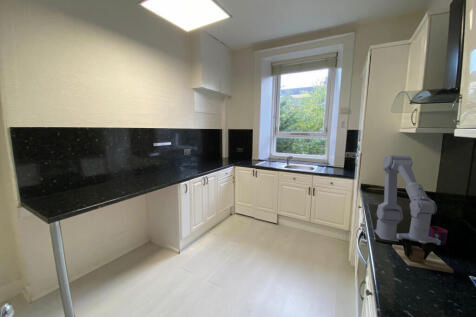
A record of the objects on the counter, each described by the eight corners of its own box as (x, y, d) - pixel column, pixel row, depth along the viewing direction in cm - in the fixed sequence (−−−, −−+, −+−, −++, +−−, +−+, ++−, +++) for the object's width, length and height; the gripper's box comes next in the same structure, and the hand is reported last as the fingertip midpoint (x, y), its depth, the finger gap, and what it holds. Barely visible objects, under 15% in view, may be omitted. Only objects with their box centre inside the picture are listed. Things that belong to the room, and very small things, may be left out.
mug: (426, 240, 101) (428, 228, 100) (428, 234, 107) (430, 222, 106) (445, 246, 96) (447, 233, 95) (446, 239, 102) (448, 227, 101)
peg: (406, 257, 87) (407, 245, 86) (416, 259, 86) (418, 246, 85) (411, 263, 83) (413, 250, 82) (422, 265, 82) (424, 252, 81)
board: (392, 246, 95) (392, 243, 95) (429, 252, 91) (430, 249, 91) (408, 265, 82) (408, 262, 82) (453, 273, 78) (453, 269, 78)
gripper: (404, 229, 80) (399, 259, 82) (448, 234, 77) (442, 266, 78) (395, 221, 87) (391, 249, 89) (435, 226, 83) (430, 255, 85)
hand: (414, 256), depth 84 cm, fingers open, 5 cm apart
